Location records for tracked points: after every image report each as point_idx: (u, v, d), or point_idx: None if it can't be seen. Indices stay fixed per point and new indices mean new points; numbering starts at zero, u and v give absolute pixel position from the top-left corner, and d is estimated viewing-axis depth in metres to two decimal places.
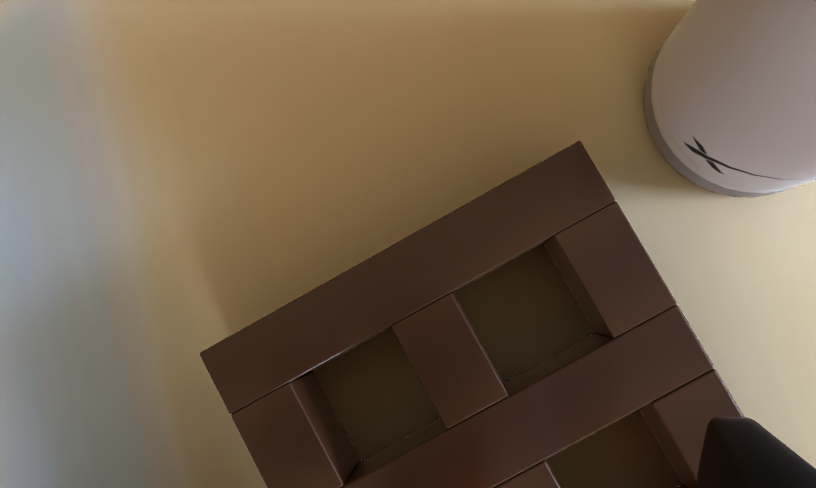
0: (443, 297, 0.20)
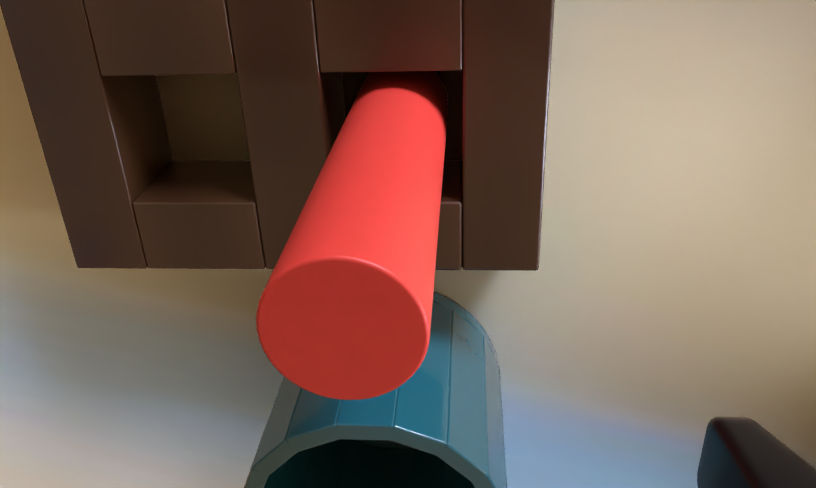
0: (83, 1, 0.16)
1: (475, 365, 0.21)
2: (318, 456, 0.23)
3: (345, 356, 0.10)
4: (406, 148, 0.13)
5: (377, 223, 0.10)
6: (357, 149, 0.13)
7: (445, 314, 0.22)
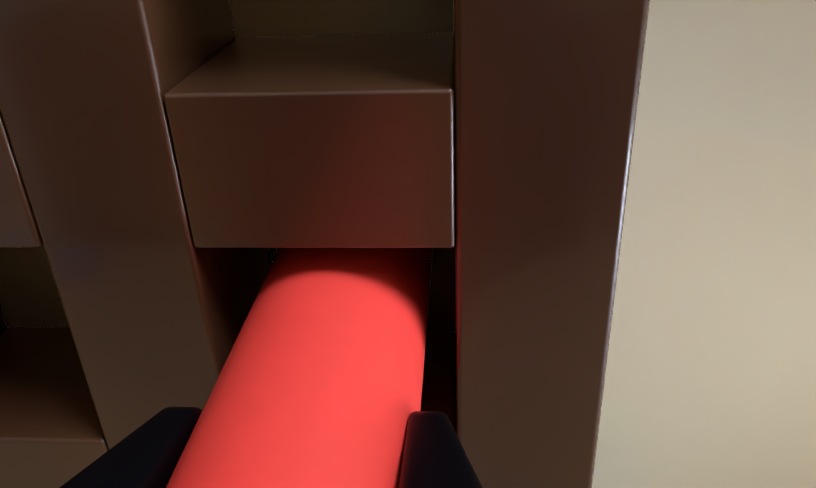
0: None
1: None
2: None
3: None
4: None
5: None
6: None
7: None
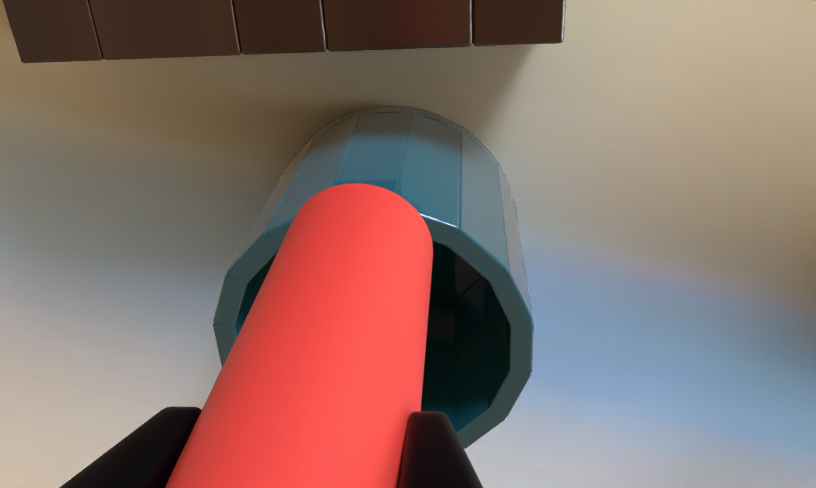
0: None
1: (489, 181, 0.18)
2: None
3: None
4: None
5: None
6: None
7: (453, 132, 0.19)
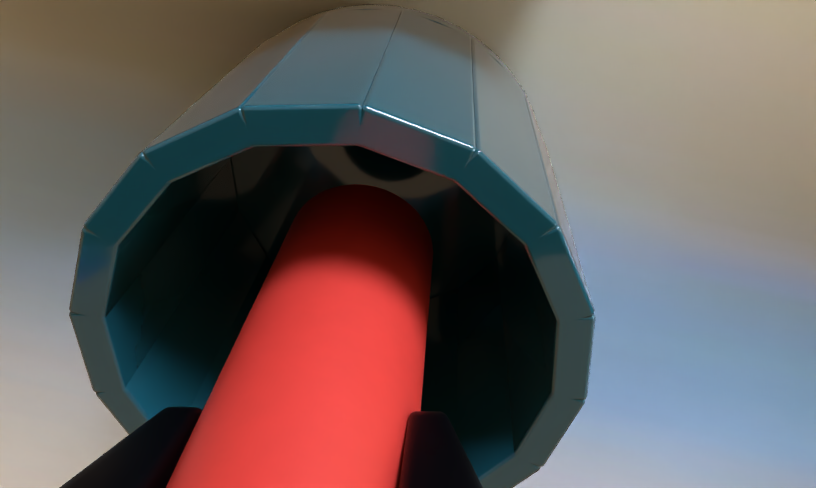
0: None
1: (515, 103, 0.12)
2: (253, 299, 0.14)
3: None
4: None
5: None
6: None
7: (461, 37, 0.13)
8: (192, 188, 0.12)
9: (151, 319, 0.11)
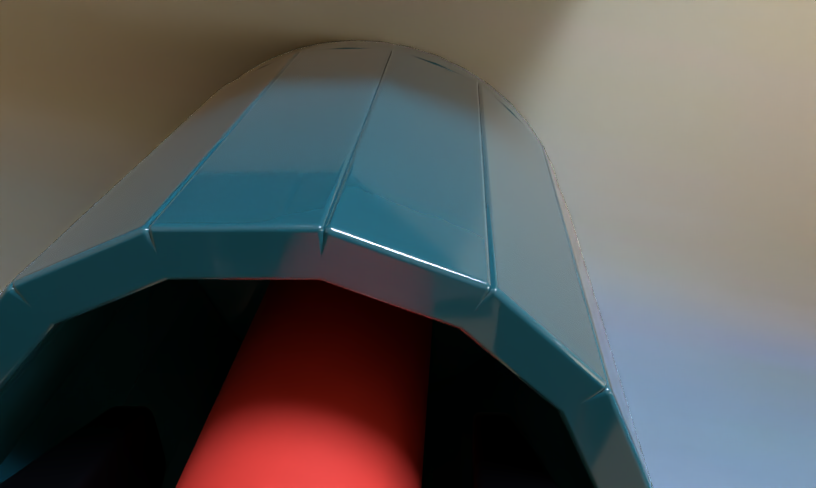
0: None
1: (536, 174, 0.09)
2: (213, 395, 0.12)
3: None
4: None
5: None
6: None
7: (466, 85, 0.10)
8: None
9: None
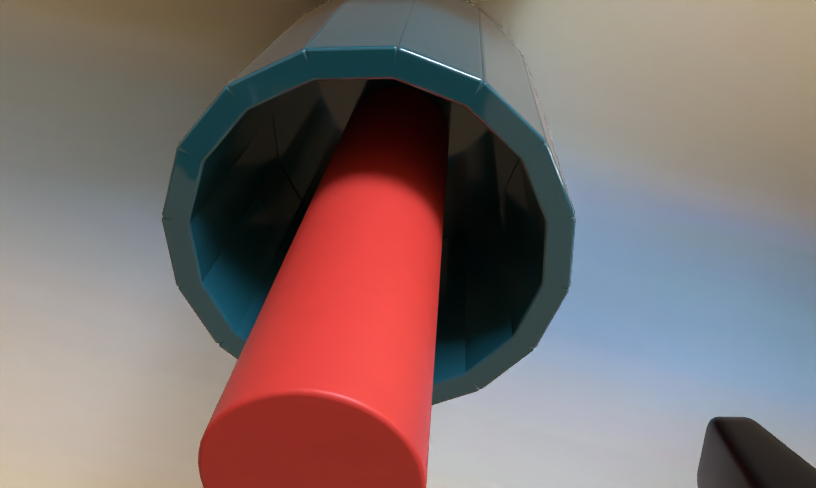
0: None
1: (514, 61, 0.14)
2: (293, 233, 0.17)
3: None
4: (398, 210, 0.11)
5: (358, 329, 0.08)
6: (338, 213, 0.11)
7: (470, 9, 0.15)
8: (248, 132, 0.15)
9: (219, 233, 0.14)
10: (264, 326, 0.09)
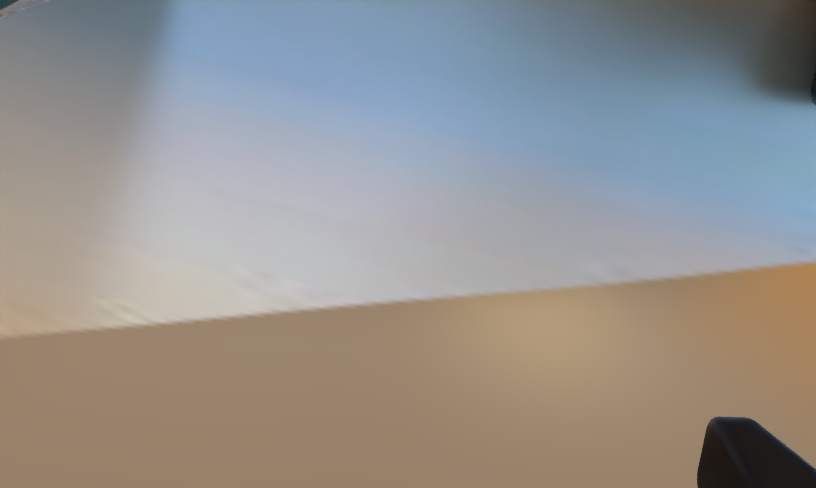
0: None
1: None
2: None
3: None
4: None
5: None
6: None
7: None
8: None
9: None
10: None
